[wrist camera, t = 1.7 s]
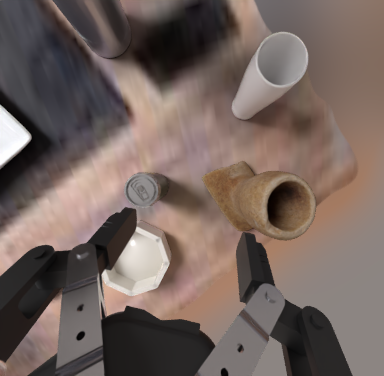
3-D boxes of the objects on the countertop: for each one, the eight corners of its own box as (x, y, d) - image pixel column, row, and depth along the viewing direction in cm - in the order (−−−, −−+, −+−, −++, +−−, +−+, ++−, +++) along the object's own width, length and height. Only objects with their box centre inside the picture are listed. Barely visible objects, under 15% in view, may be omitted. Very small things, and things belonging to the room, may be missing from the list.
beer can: (173, 190, 37) (166, 197, 25) (151, 202, 37) (134, 215, 25) (161, 168, 37) (148, 165, 25) (139, 180, 37) (115, 183, 25)
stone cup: (281, 207, 38) (342, 227, 23) (235, 235, 38) (266, 274, 23) (246, 147, 37) (286, 128, 22) (199, 177, 37) (207, 178, 22)
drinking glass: (259, 90, 36) (309, 29, 21) (260, 123, 36) (309, 87, 21) (227, 91, 36) (254, 31, 21) (228, 124, 36) (255, 89, 21)
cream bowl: (98, 265, 38) (87, 276, 34) (124, 212, 37) (116, 216, 33) (152, 291, 39) (148, 304, 35) (179, 239, 38) (178, 246, 34)
